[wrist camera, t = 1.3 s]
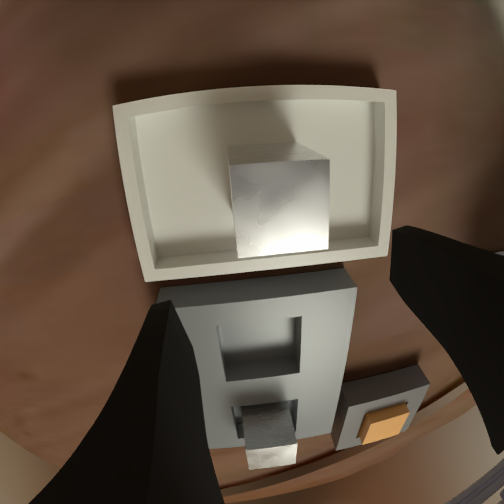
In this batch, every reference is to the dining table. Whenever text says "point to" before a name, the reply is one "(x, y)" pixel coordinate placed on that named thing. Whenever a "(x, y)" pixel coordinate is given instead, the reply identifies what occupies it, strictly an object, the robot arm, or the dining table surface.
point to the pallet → (268, 347)
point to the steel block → (279, 198)
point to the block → (269, 435)
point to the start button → (383, 423)
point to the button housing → (376, 401)
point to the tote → (217, 175)
